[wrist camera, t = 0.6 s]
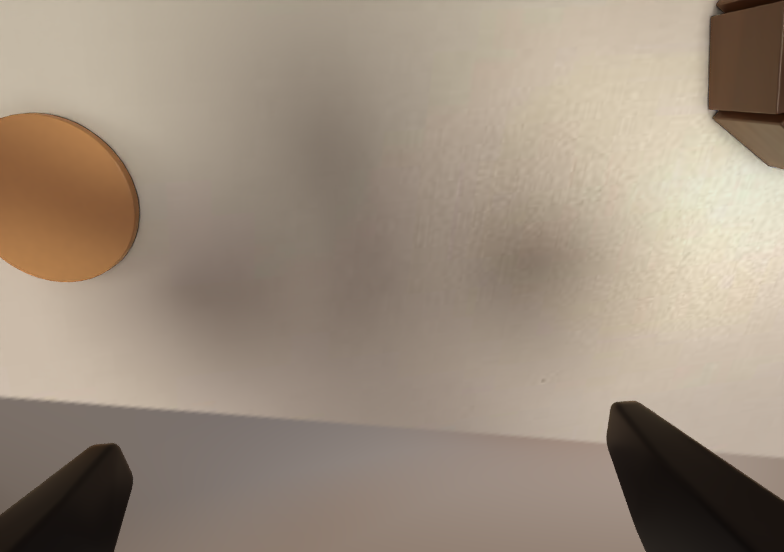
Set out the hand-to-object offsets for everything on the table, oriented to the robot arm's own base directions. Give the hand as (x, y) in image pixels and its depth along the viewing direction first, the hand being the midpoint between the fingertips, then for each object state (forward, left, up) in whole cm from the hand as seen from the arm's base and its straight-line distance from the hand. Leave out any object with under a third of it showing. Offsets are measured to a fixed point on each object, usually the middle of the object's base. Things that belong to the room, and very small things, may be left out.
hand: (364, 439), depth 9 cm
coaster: (+4, +12, -12) cm, 17 cm away
